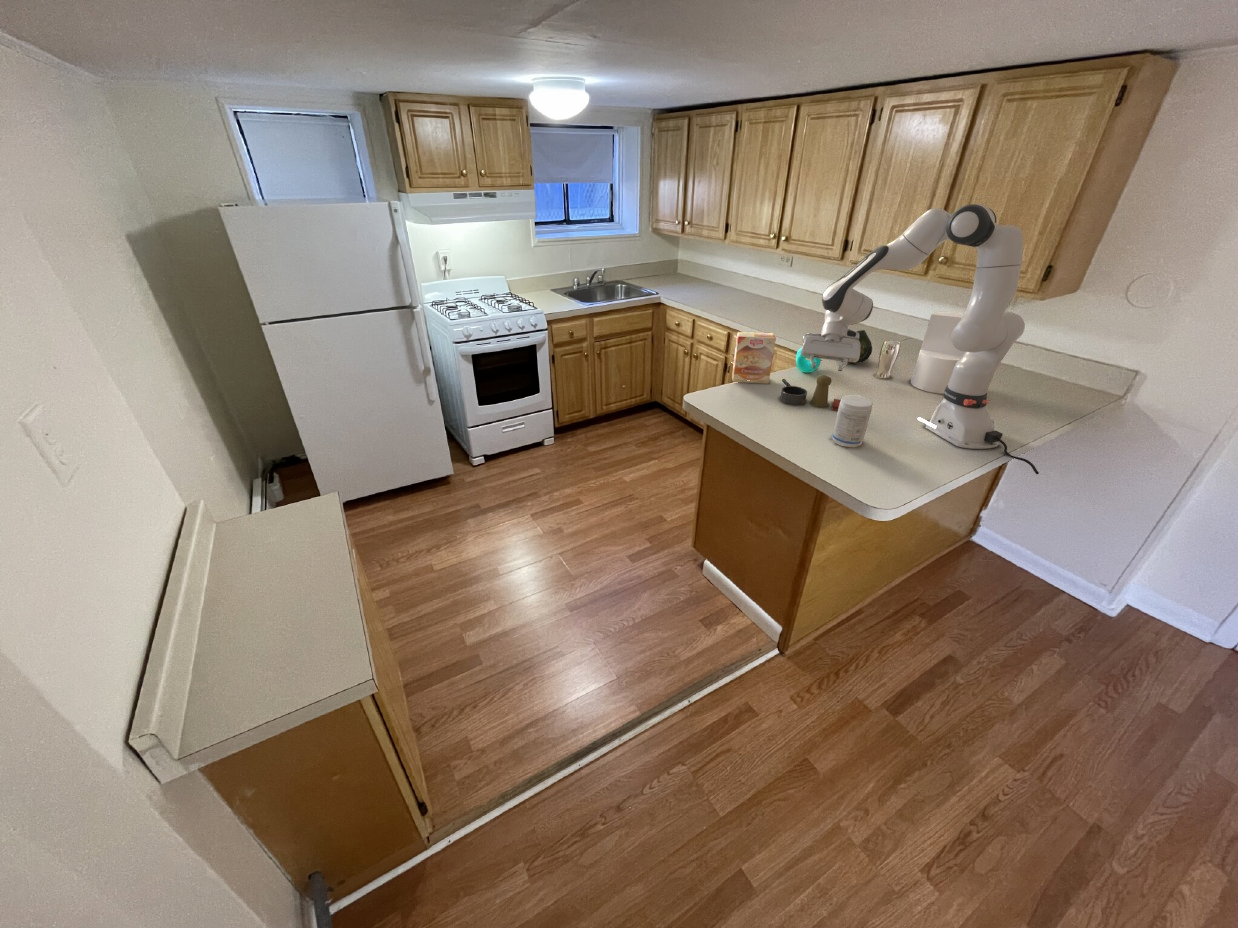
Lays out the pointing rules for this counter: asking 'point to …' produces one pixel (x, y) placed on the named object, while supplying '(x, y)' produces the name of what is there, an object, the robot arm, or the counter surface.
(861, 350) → the squash
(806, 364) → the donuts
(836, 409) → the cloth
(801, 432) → the counter surface
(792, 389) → the pan
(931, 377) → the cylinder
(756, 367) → the coffeecake box
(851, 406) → the supplement tub
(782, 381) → the pan handle
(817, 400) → the olive tall rounded piece
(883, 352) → the beer glass
